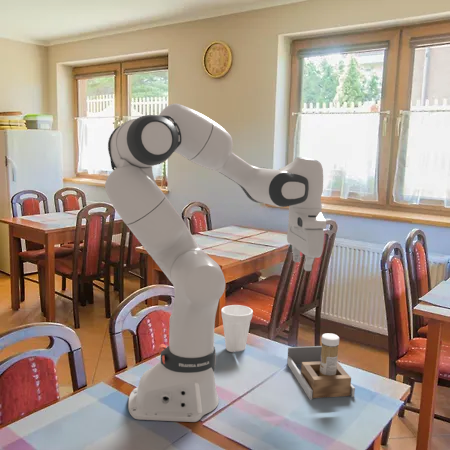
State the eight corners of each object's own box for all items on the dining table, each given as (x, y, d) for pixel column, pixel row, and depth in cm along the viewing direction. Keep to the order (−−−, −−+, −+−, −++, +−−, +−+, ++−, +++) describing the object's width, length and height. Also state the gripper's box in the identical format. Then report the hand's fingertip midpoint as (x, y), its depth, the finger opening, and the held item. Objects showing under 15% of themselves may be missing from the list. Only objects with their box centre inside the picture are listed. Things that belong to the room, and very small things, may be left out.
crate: (312, 398, 123) (314, 379, 122) (300, 379, 133) (301, 362, 132) (349, 395, 125) (351, 377, 124) (335, 377, 135) (336, 360, 134)
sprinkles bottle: (316, 379, 131) (319, 332, 129) (333, 379, 131) (336, 332, 129) (320, 387, 127) (324, 339, 124) (337, 387, 127) (341, 339, 125)
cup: (255, 355, 149) (256, 315, 147) (223, 357, 147) (224, 316, 145) (246, 342, 159) (248, 304, 156) (217, 344, 156) (218, 305, 154)
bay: (309, 402, 123) (311, 380, 122) (287, 366, 142) (288, 347, 141) (354, 399, 125) (355, 378, 124) (325, 364, 144) (327, 345, 143)
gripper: (283, 211, 142) (280, 257, 145) (305, 223, 123) (302, 276, 125) (303, 211, 144) (301, 256, 146) (329, 223, 124) (325, 275, 126)
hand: (301, 265), depth 135 cm, fingers open, 8 cm apart
